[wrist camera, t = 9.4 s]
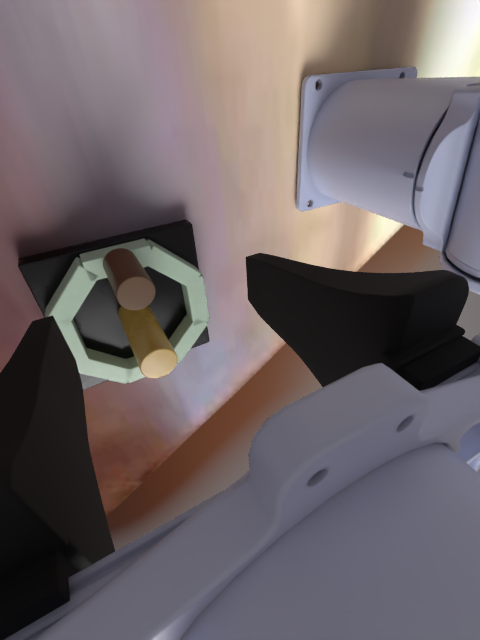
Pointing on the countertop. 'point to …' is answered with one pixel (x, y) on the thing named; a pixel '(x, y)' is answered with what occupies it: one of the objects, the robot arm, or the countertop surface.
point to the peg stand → (108, 315)
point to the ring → (127, 301)
